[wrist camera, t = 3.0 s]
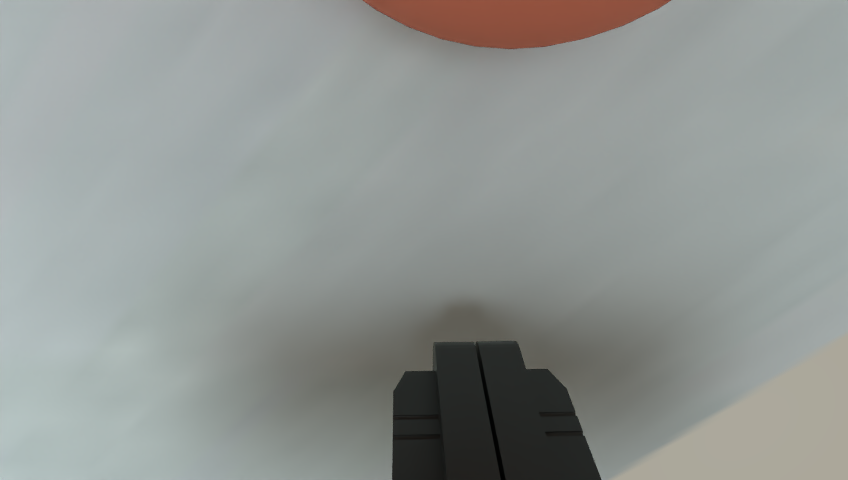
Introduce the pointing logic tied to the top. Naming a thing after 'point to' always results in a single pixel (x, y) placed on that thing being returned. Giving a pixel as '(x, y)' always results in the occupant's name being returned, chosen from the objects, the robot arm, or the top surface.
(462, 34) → the ball
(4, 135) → the top surface
